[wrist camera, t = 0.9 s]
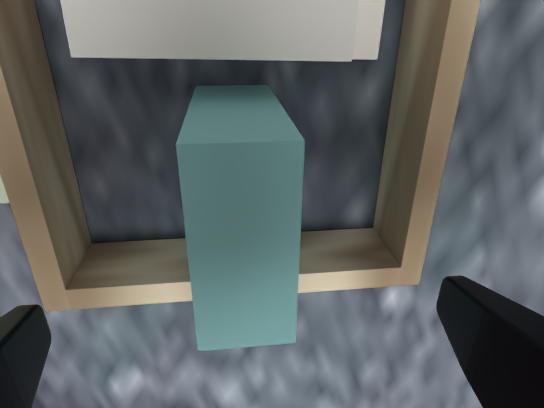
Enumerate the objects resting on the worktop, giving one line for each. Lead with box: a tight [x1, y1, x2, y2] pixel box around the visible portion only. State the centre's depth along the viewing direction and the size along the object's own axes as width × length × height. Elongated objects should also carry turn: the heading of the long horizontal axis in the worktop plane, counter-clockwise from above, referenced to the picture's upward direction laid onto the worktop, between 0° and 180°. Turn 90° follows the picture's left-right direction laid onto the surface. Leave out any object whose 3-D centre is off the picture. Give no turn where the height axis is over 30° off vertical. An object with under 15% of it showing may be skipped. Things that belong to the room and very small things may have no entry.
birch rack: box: [0, 0, 481, 311], centre depth 15 cm, size 16×14×4 cm
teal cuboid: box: [176, 85, 305, 351], centre depth 14 cm, size 3×6×8 cm, turn 179°
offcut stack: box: [60, 0, 385, 62], centre depth 13 cm, size 11×3×4 cm, turn 88°
